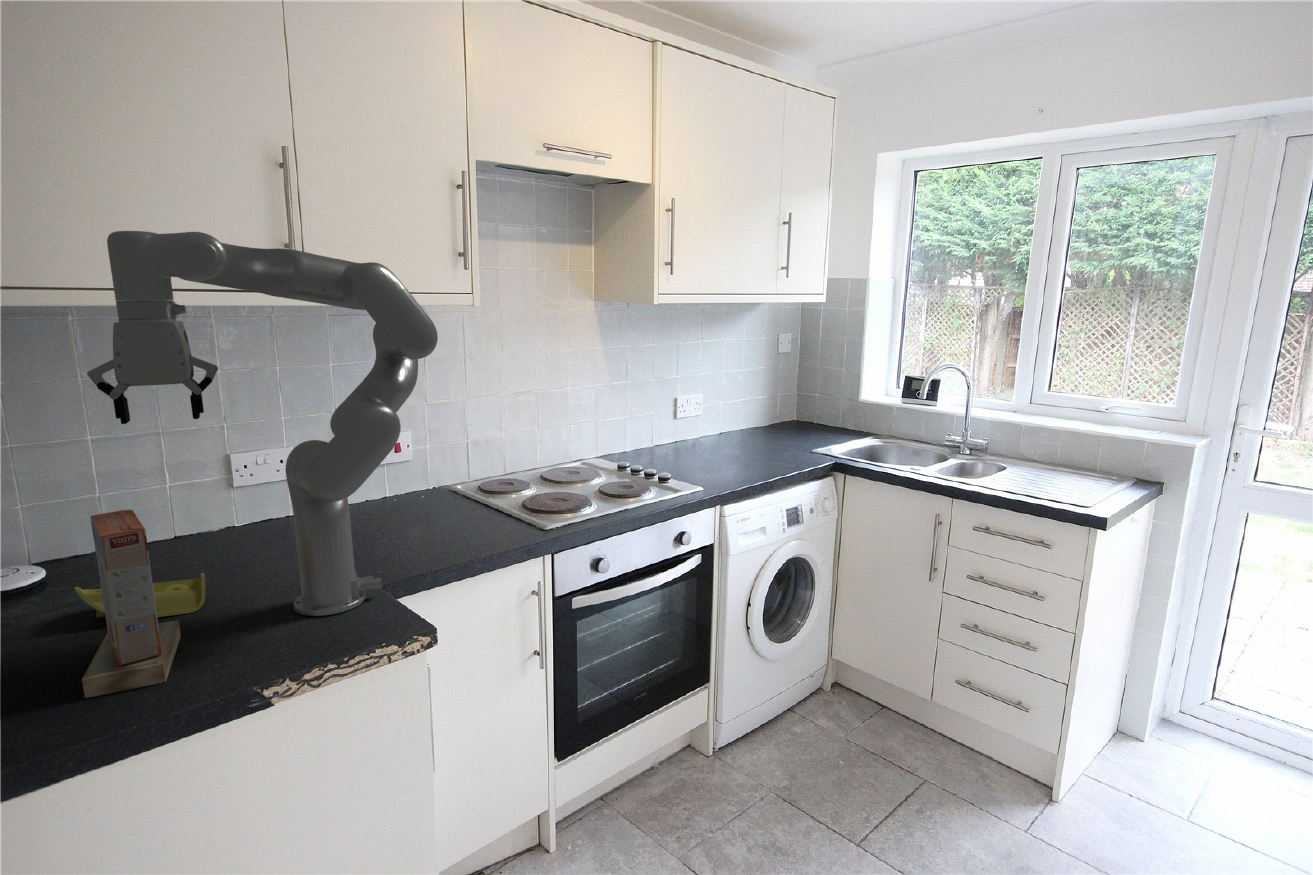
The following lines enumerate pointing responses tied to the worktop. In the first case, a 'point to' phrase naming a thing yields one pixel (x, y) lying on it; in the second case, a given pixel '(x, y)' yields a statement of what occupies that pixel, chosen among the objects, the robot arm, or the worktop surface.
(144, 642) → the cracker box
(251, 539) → the worktop surface
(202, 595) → the plastic component
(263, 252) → the robot arm
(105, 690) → the stand
